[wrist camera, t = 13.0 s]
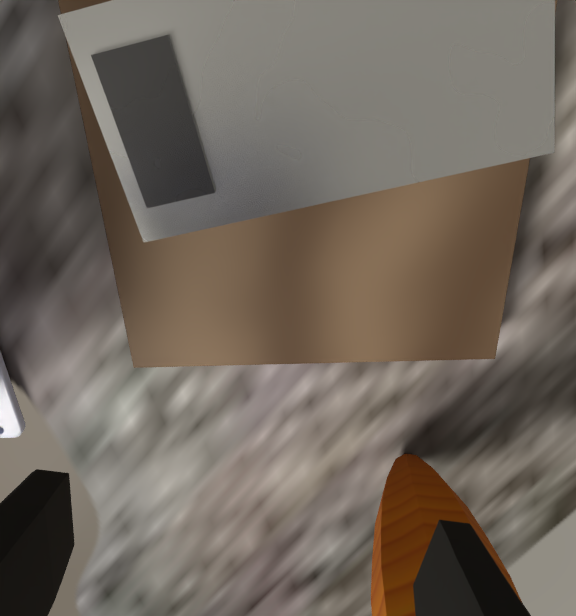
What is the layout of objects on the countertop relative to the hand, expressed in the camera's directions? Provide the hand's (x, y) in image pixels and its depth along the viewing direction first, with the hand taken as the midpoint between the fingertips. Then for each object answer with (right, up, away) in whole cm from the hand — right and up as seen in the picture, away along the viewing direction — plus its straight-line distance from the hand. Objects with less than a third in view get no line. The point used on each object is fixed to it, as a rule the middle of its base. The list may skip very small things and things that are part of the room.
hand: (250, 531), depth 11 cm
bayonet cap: (+1, +11, +4) cm, 12 cm away
